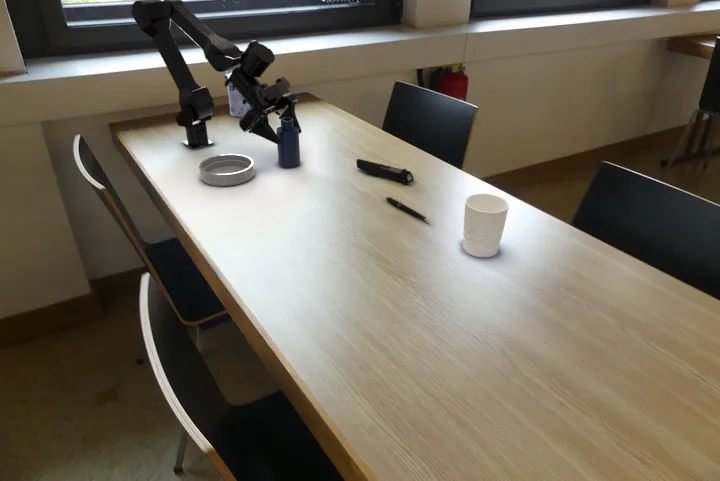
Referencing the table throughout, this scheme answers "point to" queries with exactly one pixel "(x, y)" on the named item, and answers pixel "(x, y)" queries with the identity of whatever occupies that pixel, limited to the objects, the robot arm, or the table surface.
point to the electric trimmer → (385, 171)
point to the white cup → (484, 224)
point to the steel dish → (226, 169)
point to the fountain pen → (405, 208)
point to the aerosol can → (236, 100)
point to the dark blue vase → (288, 144)
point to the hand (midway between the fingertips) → (290, 138)
